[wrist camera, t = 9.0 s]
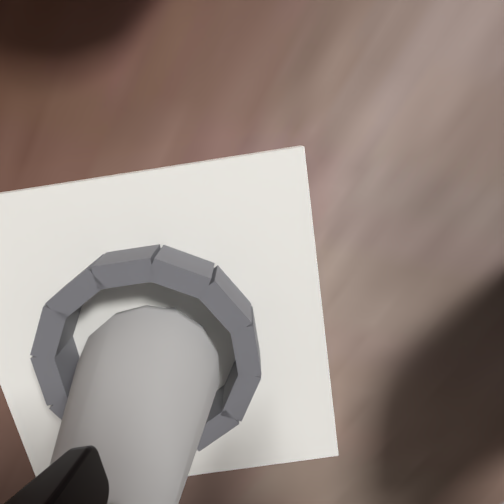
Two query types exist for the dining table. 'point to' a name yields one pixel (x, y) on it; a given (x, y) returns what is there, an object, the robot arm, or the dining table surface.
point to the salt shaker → (142, 402)
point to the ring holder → (174, 296)
